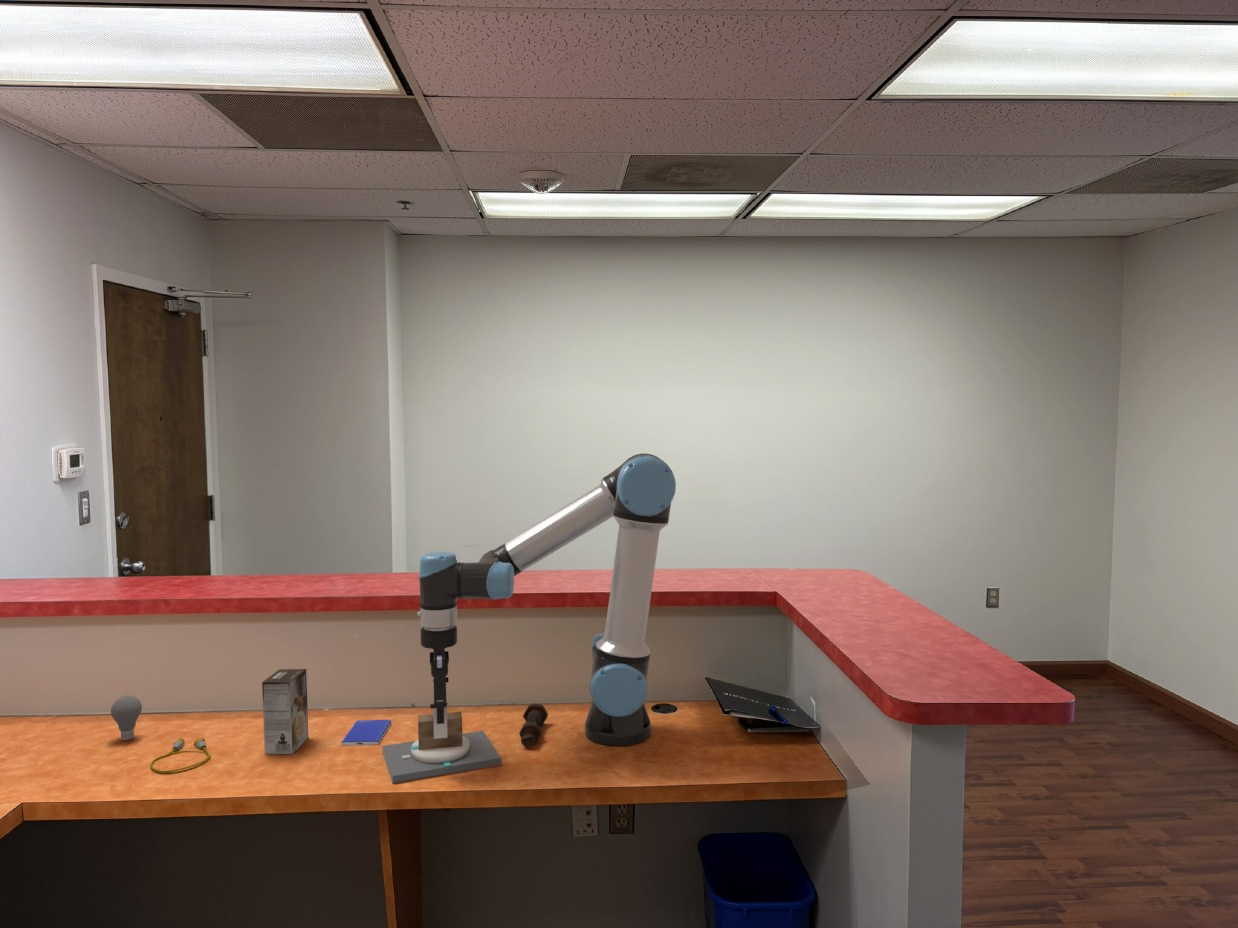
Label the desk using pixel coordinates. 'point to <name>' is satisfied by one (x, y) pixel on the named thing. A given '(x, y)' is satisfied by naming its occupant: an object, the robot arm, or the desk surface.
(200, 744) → the extension cord
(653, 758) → the desk surface
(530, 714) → the bolt
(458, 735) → the dial
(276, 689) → the coffee box
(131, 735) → the light bulb
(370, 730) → the hard drive
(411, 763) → the dial plate
